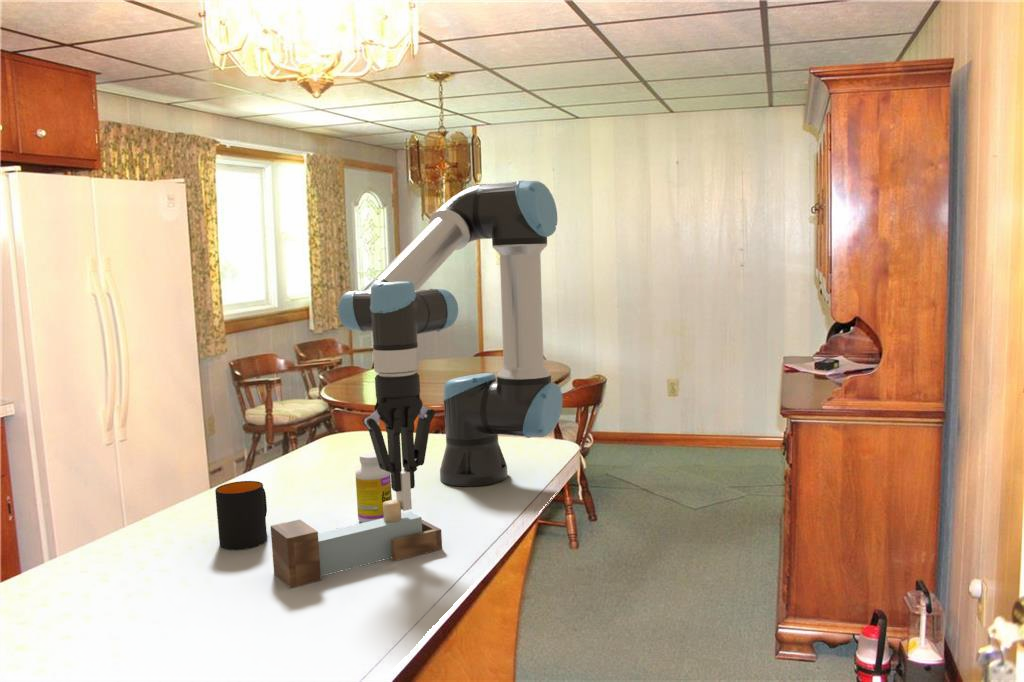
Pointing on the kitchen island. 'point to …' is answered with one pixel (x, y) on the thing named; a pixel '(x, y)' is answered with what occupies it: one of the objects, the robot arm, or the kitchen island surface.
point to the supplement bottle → (371, 488)
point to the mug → (241, 515)
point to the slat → (365, 539)
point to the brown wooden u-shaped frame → (417, 542)
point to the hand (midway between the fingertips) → (404, 508)
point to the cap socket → (295, 553)
